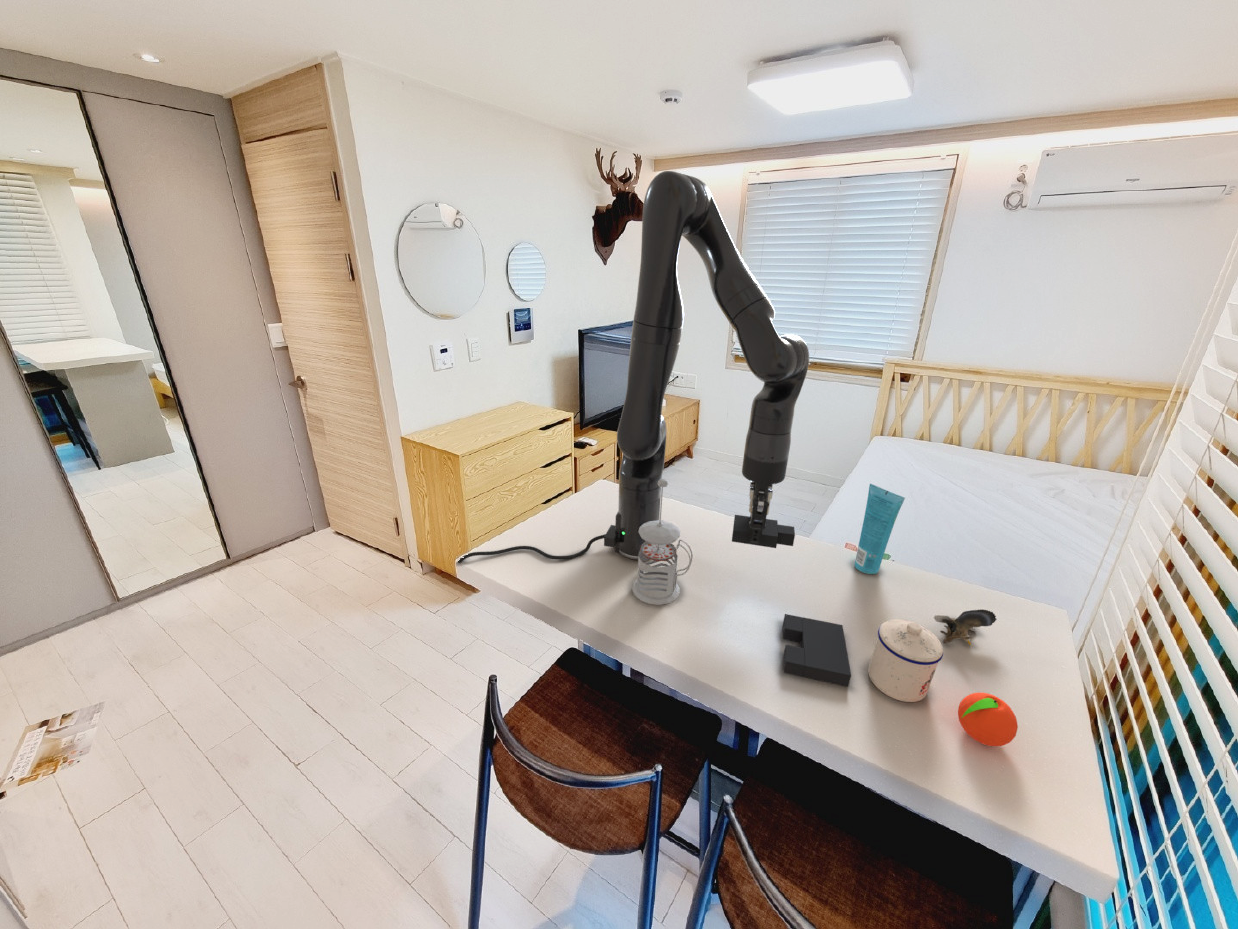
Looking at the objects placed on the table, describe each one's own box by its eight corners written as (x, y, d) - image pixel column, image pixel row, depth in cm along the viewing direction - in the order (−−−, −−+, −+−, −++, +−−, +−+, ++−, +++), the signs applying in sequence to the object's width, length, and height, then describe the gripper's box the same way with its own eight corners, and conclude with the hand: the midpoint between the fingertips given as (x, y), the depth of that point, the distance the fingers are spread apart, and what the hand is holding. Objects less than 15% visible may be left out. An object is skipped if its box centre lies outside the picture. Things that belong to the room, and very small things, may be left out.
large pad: (783, 672, 83) (785, 661, 82) (782, 624, 94) (784, 613, 93) (848, 687, 81) (851, 675, 80) (839, 635, 91) (842, 624, 90)
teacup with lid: (931, 713, 77) (953, 655, 72) (866, 692, 80) (883, 636, 75) (922, 658, 87) (942, 605, 82) (865, 642, 90) (880, 589, 85)
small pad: (731, 541, 94) (733, 530, 93) (733, 525, 99) (734, 514, 98) (793, 550, 91) (795, 539, 90) (791, 533, 96) (793, 522, 95)
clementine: (971, 762, 70) (987, 727, 67) (934, 719, 76) (948, 684, 73) (1020, 754, 71) (1039, 718, 68) (980, 712, 77) (995, 678, 74)
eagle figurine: (980, 659, 85) (1005, 631, 89) (962, 621, 85) (989, 595, 89) (936, 652, 92) (962, 626, 96) (920, 617, 92) (946, 592, 96)
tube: (887, 572, 109) (910, 493, 101) (877, 580, 107) (899, 500, 99) (855, 556, 115) (874, 480, 107) (844, 564, 112) (863, 487, 104)
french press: (640, 570, 108) (645, 464, 98) (693, 582, 105) (704, 474, 94) (625, 598, 100) (629, 485, 89) (682, 612, 96) (693, 497, 86)
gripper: (790, 471, 81) (775, 558, 88) (787, 440, 94) (774, 518, 100) (742, 466, 83) (732, 551, 90) (746, 435, 95) (736, 512, 102)
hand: (754, 533), depth 95 cm, fingers closed on small pad, 6 cm apart
